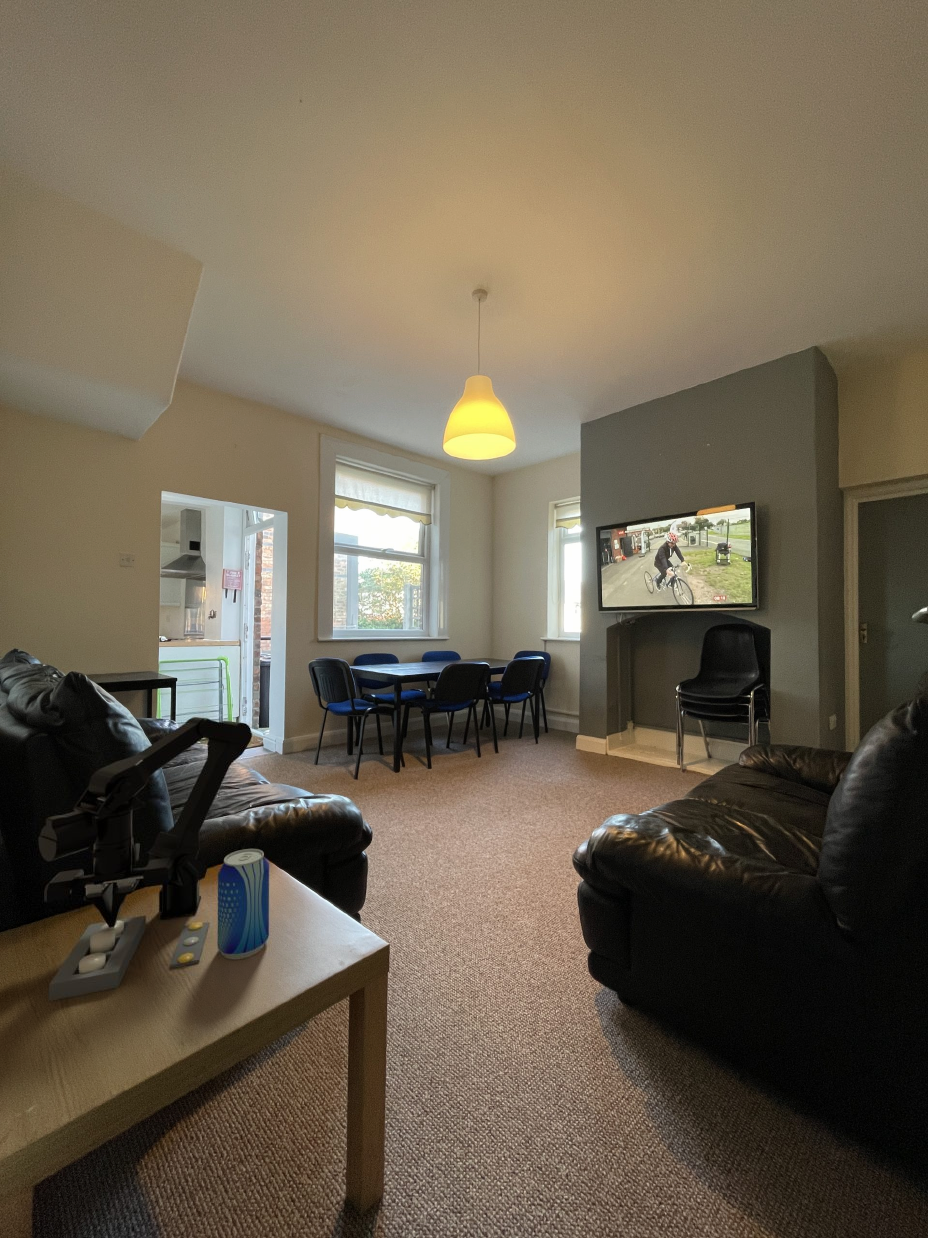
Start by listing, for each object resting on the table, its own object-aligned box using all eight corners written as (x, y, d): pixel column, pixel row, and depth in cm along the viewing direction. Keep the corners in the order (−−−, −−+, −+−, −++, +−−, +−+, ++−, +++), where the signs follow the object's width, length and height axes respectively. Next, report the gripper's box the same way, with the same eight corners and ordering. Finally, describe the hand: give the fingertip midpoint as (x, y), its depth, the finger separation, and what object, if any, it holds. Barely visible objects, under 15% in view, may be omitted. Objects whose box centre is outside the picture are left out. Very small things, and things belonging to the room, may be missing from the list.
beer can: (277, 946, 92) (277, 855, 92) (229, 969, 85) (230, 872, 86) (255, 928, 97) (256, 843, 98) (209, 948, 91) (210, 857, 92)
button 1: (108, 966, 85) (108, 950, 85) (101, 979, 82) (101, 963, 82) (83, 970, 84) (83, 955, 84) (75, 984, 81) (75, 968, 81)
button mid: (117, 941, 90) (118, 927, 90) (111, 953, 87) (111, 938, 87) (94, 945, 89) (94, 930, 89) (86, 957, 86) (87, 942, 86)
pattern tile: (209, 924, 99) (209, 920, 99) (199, 963, 87) (199, 959, 87) (183, 928, 97) (183, 924, 97) (169, 969, 86) (169, 964, 86)
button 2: (126, 932, 95) (126, 919, 95) (120, 943, 91) (120, 929, 91) (104, 936, 94) (104, 922, 94) (97, 947, 90) (97, 933, 90)
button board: (145, 929, 97) (145, 915, 97) (117, 987, 81) (118, 971, 81) (89, 938, 94) (89, 924, 94) (49, 1001, 78) (49, 984, 78)
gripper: (180, 817, 104) (179, 895, 103) (69, 829, 98) (68, 912, 97) (167, 838, 93) (167, 925, 93) (43, 853, 87) (42, 946, 87)
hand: (112, 926), depth 93 cm, fingers closed, pressing on button 2
